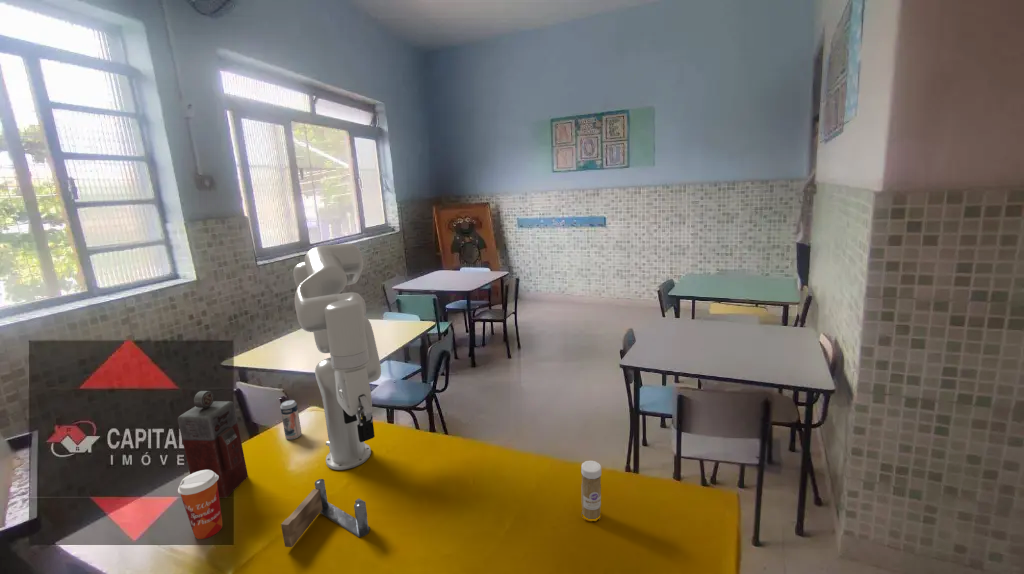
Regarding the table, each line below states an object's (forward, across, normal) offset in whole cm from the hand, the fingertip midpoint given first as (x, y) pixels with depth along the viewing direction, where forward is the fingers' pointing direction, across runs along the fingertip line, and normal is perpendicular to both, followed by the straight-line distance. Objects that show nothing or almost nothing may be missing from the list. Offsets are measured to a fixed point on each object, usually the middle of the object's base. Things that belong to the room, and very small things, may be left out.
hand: (359, 430), depth 100 cm
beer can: (+26, -56, -5) cm, 62 cm away
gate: (+24, -9, -13) cm, 29 cm away
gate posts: (+25, -7, -4) cm, 26 cm away
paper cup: (+25, -24, -31) cm, 46 cm away
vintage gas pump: (+26, -40, -26) cm, 54 cm away
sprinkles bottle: (+25, +31, +42) cm, 58 cm away
